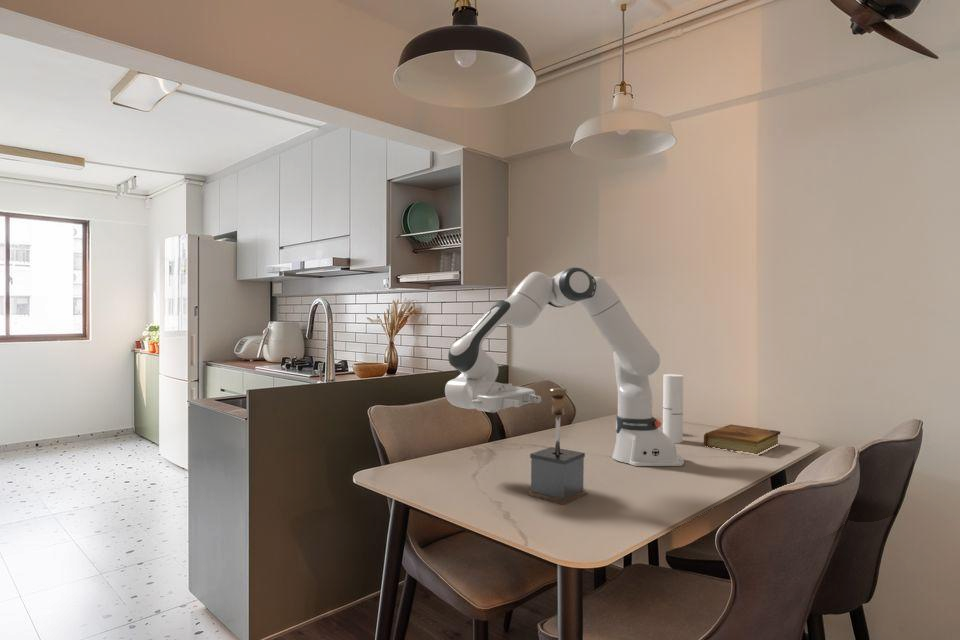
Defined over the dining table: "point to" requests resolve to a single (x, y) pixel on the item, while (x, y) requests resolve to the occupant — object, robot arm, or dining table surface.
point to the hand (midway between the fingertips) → (530, 401)
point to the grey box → (557, 475)
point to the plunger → (558, 412)
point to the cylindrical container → (673, 407)
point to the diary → (741, 438)
